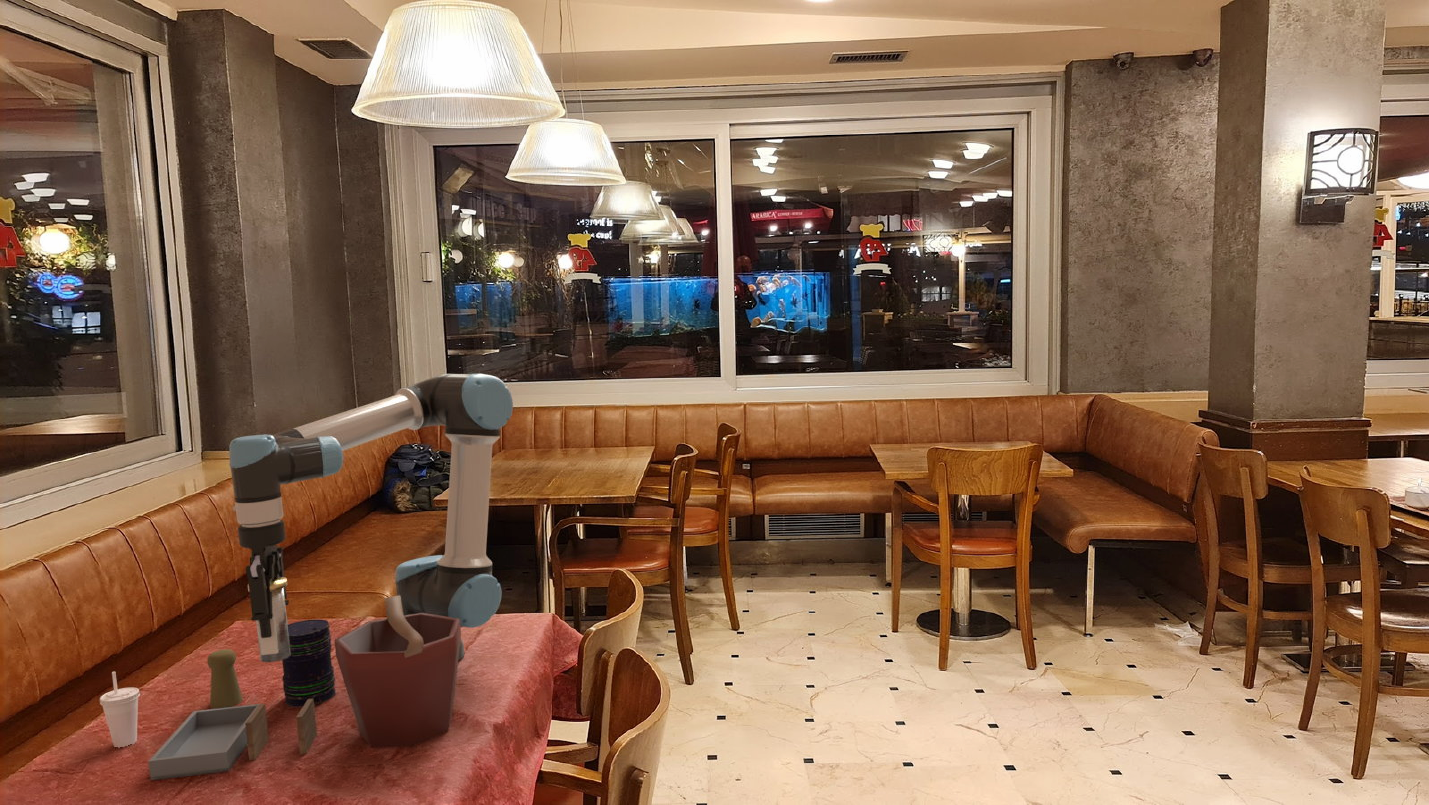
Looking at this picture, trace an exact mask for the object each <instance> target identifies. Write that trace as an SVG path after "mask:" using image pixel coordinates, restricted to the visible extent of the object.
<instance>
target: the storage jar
mask: <svg viewBox="0 0 1429 805" xmlns="http://www.w3.org/2000/svg"><path fill="white" fill-rule="evenodd" d="M287 624H288V634H289V643H290V652H291V655H290V656H289V657H288V658H286V659H283V660H281V661H282V671H283V672H282V673H283V675H282V683H283V685H282V688H283V689H282V690H283V693H284V696H285V697H284V701H285V702H284V703H285V705H286V704H287V706H288V705H289V706H288V707H292V708H303V706H304V705H305V703H306V701H307V700H308V699H314V706H316V705H319V703H320V704H323V703H325V702H327V701H329V700H331V699H332V698H334V696H335V695H336V694H337V692H336V688H335V686H336V683H335V681H336V676H335V668H334V666H333V665H332V664H333V663H332V655H331V650H332V647H333V646H332V635H331V633H330V632H331V631H330V623H329V621H328V620H325V619H318V618H317V619H305V620H300V621H296V622H292V623H287ZM322 702H323V703H322Z"/></svg>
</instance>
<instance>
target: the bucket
mask: <svg viewBox="0 0 1429 805" xmlns="http://www.w3.org/2000/svg"><path fill="white" fill-rule="evenodd" d="M384 604H385V617H386V618H383V619H375V620H370V621H367V622H365V623H363V624H361V625H360V626H357V627H356V628H354V629H352V630H350V631H348V632H346V633H344V634H343V635H340V636H339V637H337V638H335V639H334V648H335V656H336V659H337V663H338V664H337V665H338V667H339V669H340V673H341V676H342V679H343V682H344V686H345V690H346V692H347V694H348V698H349V702H350V704H351V707H352V711H353V714H354V717H355V720H356V724H357V727H358V730H359V733H360V735H361V736H362V737H363V739H364V741H366V742H367V744H368V746H370V748H373V749H377V748H378V749H379V748H380V749H381V748H414V747H415V746H417V745H420V744H422V743H424V742H427V741H429V740H432V739H435V738H437V737H439V736H441V735H444V734H446V733H449V729H450V726H451V721H452V718H453V712H454V701H455V693H456V685H457V684H456V683H457V674H458V665H459V661H458V658H459V649H460V639H462V629H461V628H462V627H461V626H460V619H458V618H452V617H446V616H440V615H434V614H428V613H417V614H411V615H405V616H404V613H403V607H402V602H401V596H400V595H399V596H397V595H395V596H388V597H385V598H384Z"/></svg>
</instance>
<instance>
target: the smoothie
mask: <svg viewBox="0 0 1429 805" xmlns="http://www.w3.org/2000/svg"><path fill="white" fill-rule="evenodd" d="M111 676H112V685H113V690H111V691H109V692H106V693H104V694H103V695H100V697H99V704H100V705H101V706H102V709H103V713H104V715H105V719H106V723H107V727H108V729H109V730H108V731H109V734H110V736H111V741H112V745H113V747H114V748H115V747H118V748H117V749H120V747H123V748H126V747H125V746H127V747H129V746H128V745H130V744H132V745H134V744H136V743H137V742H138V715H139V714H138V711H139V710H138V707H139V706H138V705H139V697H140V695H141V693H140V689H139V688H137V687H123V688H119V689H118V683H117V682H118V681H117V675H116V671H112V672H111ZM136 741H137V742H136ZM135 742H136V743H135ZM130 746H131V745H130Z"/></svg>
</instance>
